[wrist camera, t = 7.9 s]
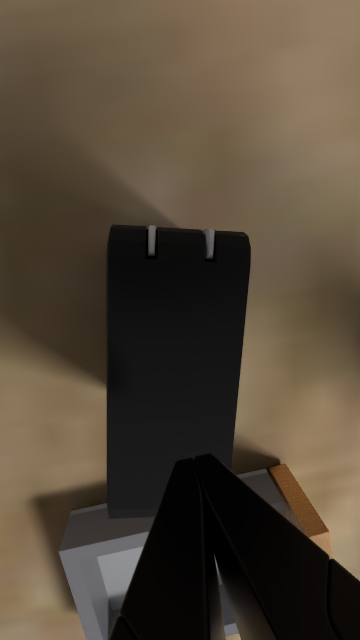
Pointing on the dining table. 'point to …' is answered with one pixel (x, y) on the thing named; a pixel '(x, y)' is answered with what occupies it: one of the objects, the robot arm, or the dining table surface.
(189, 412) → the electronic device
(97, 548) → the grey shallow open box
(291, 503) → the rectangular wooden block
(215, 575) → the robot arm
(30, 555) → the dining table surface
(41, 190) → the dining table surface
